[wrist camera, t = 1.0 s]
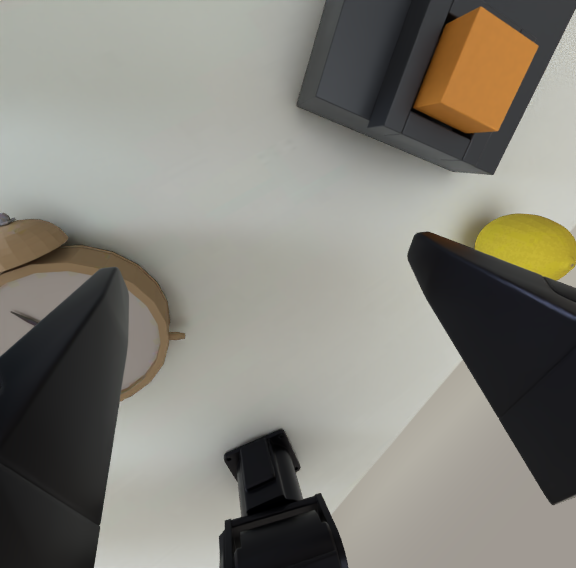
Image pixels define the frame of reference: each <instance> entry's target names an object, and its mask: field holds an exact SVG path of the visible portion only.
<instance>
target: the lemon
mask: <svg viewBox="0 0 576 568" xmlns="http://www.w3.org/2000/svg"><path fill="white" fill-rule="evenodd" d="M475 250H478V251H480V252H483V253H485V254H488V255H491V256H493V257H496V258H498V259H501V260H504V261H506V262H509V263H511V264H514V265H517V266H519V267H522V268H524V269H527V270H530V271H532V272H535V273H537V274H540V275H542V276H545V277H548V278H550V279H553V280H556V281H557V280H559V279H560V278H562V277H563V276H565V275H566V274H567V273H568V272H569V271H570V270H572V269H573V268H574V267H575V265H576V241H575V239H574V237H573V236H572V234H571V233H570V232H569V231H568V230H567V229H566V228H565V227H563V226H562V225H560V224H558V223H556V222H554V221H552V220H550V219H547V218H545V217H542V216H538V215H531V214H511V215H506V216H502V217H499V218H497V219H495V220H493V221H491V222H490V223H489V224H487V225H486V226H485V227H484V228H483V229H482V230H481V231H480V233H479V235H478V236H477V239H476V242H475Z"/></svg>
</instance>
